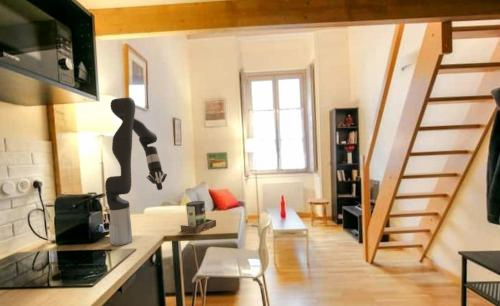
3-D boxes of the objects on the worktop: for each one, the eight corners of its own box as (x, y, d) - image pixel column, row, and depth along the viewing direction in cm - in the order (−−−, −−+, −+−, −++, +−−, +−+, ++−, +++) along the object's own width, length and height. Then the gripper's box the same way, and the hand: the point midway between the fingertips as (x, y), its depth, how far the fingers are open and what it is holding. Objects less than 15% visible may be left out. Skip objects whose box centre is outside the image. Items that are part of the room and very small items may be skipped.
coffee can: (207, 224, 162) (205, 200, 162) (205, 229, 151) (203, 203, 151) (190, 225, 162) (188, 201, 161) (186, 231, 151) (184, 205, 151)
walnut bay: (194, 233, 146) (194, 227, 146) (181, 230, 152) (180, 225, 152) (216, 225, 158) (215, 219, 158) (202, 223, 165) (202, 218, 165)
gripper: (146, 161, 165) (152, 189, 160) (166, 160, 175) (173, 186, 170) (140, 165, 169) (147, 193, 165) (160, 164, 179) (166, 190, 175)
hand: (160, 189), depth 168 cm, fingers closed
